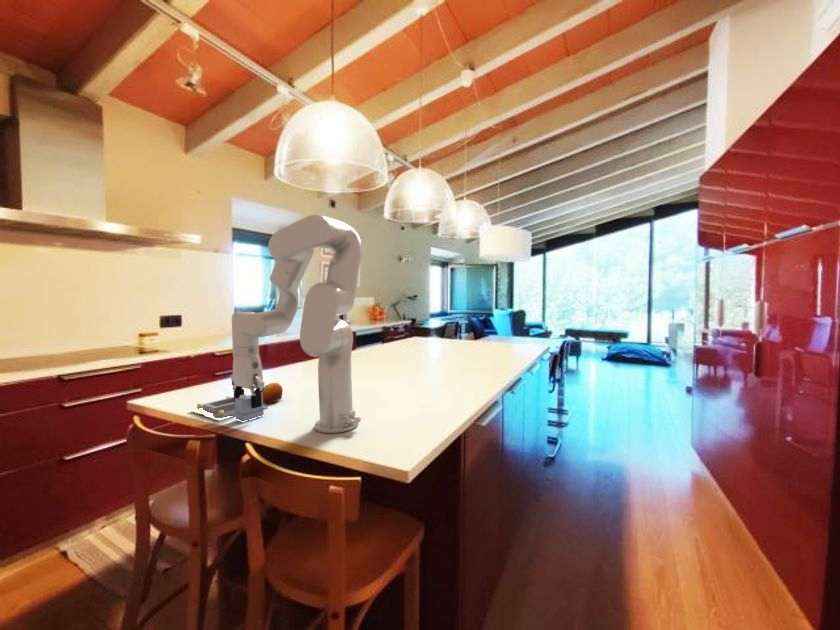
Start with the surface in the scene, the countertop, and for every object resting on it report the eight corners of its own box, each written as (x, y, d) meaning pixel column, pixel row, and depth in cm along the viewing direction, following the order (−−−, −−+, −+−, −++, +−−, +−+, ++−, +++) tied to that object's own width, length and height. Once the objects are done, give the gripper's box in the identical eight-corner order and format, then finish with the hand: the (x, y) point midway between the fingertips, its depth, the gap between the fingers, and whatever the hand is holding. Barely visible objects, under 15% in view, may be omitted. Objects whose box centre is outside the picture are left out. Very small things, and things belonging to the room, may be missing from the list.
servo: (268, 415, 127) (266, 391, 126) (238, 424, 119) (237, 398, 118) (260, 413, 129) (259, 389, 129) (231, 422, 121) (230, 396, 121)
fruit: (283, 400, 138) (270, 381, 138) (265, 412, 139) (252, 393, 138) (291, 394, 146) (279, 376, 146) (273, 405, 147) (262, 387, 146)
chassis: (259, 409, 133) (259, 400, 133) (218, 421, 122) (217, 412, 122) (231, 401, 144) (230, 393, 143) (191, 411, 132) (190, 403, 132)
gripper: (273, 352, 121) (274, 406, 122) (242, 347, 131) (243, 397, 132) (250, 355, 114) (252, 412, 116) (219, 350, 125) (221, 402, 126)
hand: (247, 404), depth 124 cm, fingers open, 9 cm apart
